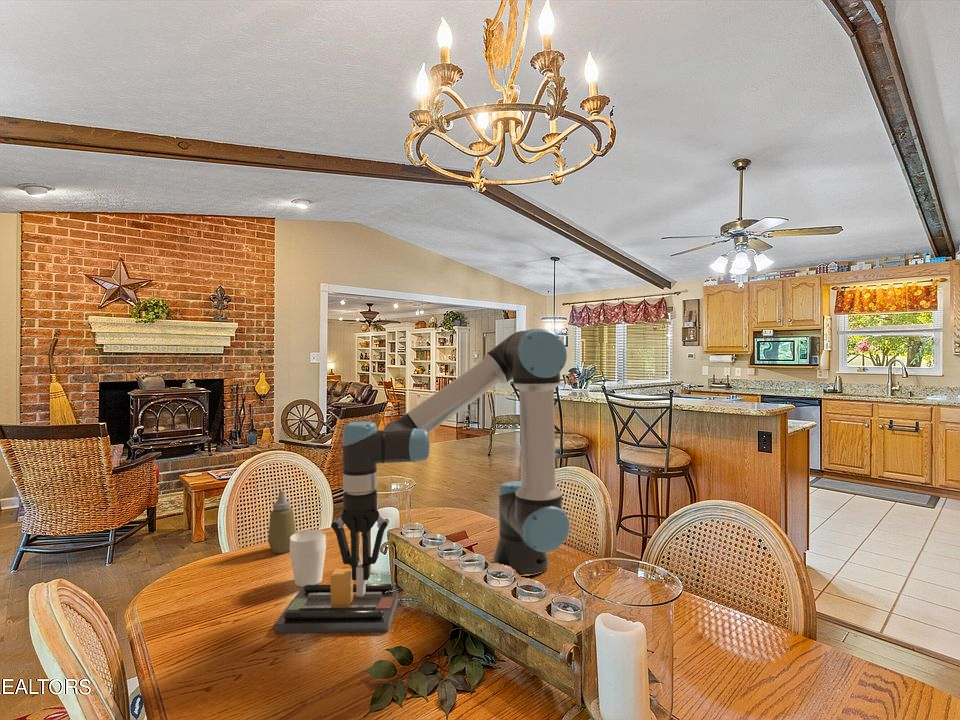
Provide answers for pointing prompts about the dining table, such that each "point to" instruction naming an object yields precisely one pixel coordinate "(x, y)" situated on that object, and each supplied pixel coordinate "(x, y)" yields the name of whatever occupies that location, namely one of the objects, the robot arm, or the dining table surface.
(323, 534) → the cup
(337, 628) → the panel
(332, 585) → the amber wood post
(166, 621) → the dining table surface
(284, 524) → the squeeze bottle
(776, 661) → the dining table surface
